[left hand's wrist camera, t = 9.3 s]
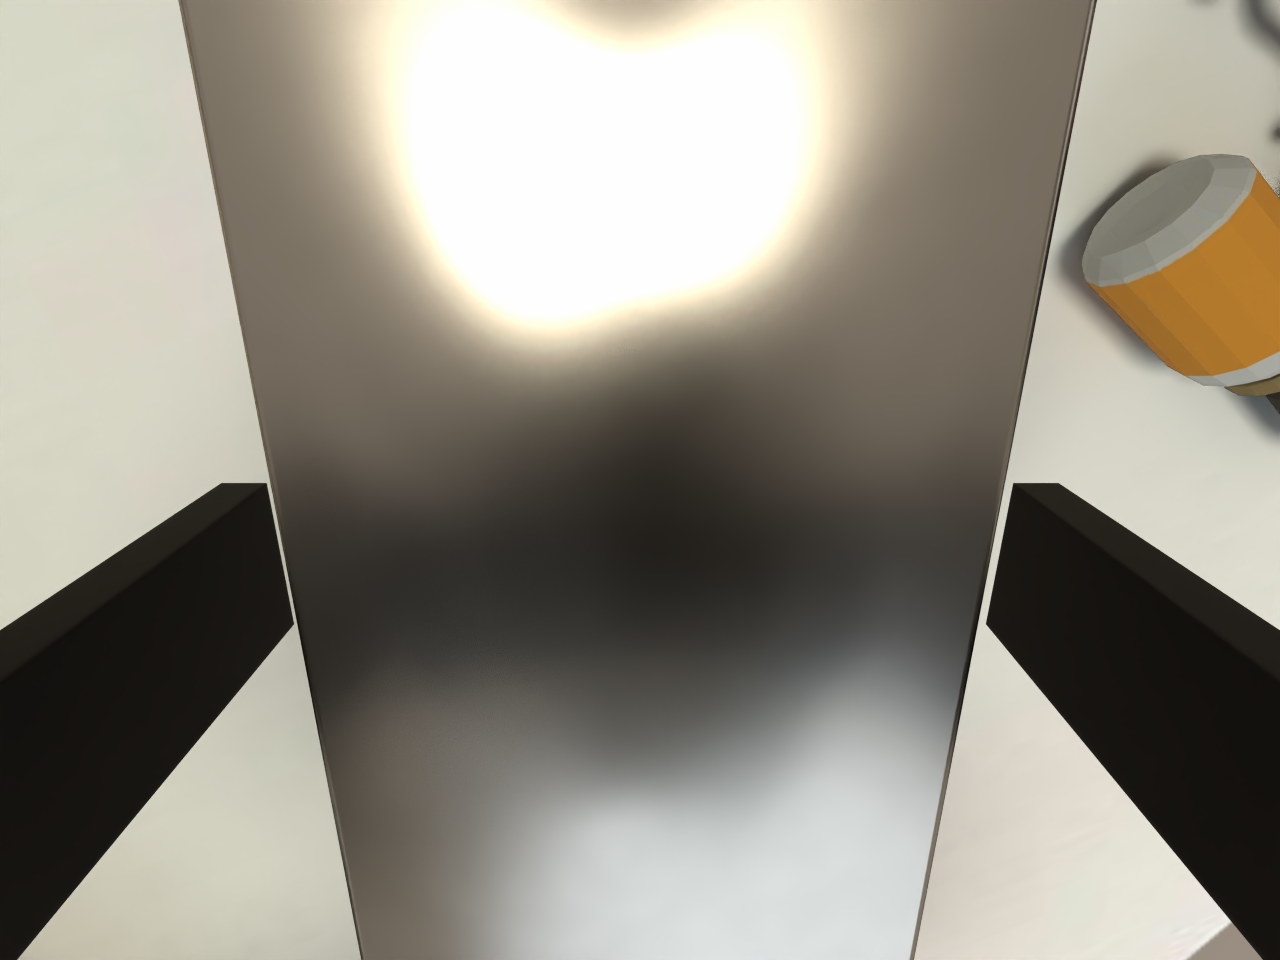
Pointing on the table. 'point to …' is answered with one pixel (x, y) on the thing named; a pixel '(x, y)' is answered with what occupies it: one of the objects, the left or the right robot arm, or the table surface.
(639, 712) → the bar
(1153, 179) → the spray gun
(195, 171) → the table surface
